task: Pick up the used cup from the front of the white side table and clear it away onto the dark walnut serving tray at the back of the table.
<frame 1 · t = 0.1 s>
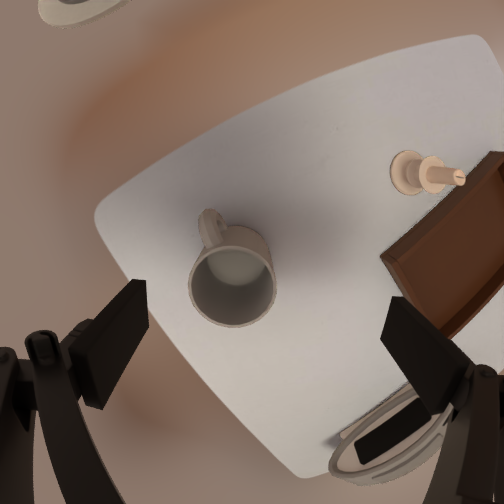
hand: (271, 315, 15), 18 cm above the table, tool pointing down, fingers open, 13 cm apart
alarm clock: (385, 410, 40), on the table
candle: (407, 172, 30), on the table
tray: (466, 247, 32), on the table
cup: (231, 245, 32), on the table
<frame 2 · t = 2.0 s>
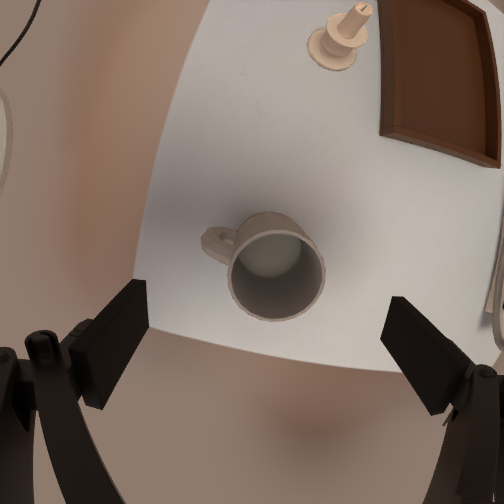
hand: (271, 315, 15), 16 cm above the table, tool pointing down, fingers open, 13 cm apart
candle: (331, 50, 24), on the table
tray: (438, 62, 24), on the table
cup: (255, 241, 30), on the table
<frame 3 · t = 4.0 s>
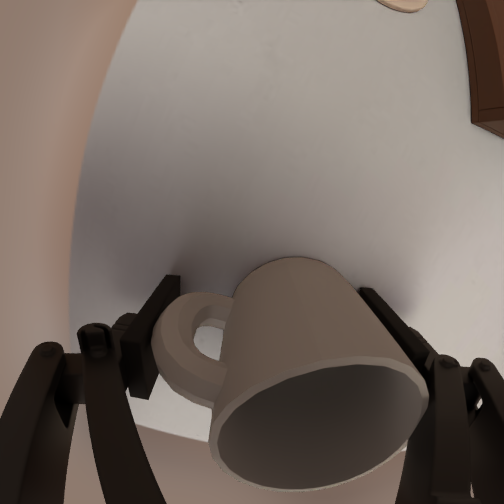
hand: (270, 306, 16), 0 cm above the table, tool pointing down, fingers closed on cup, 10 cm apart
cup: (268, 307, 16), on the table, touching gripper
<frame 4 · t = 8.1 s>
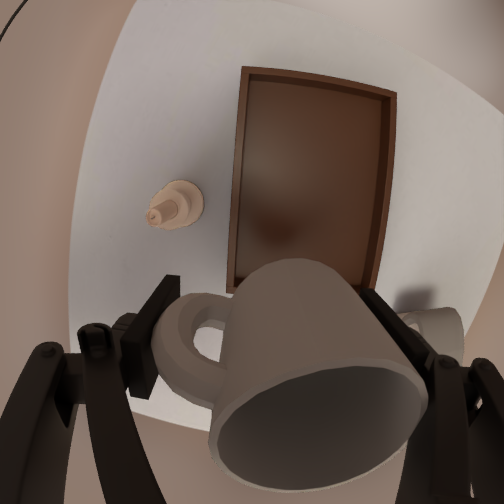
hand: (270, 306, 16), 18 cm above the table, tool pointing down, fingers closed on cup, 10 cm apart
alarm clock: (395, 360, 38), on the table
candle: (181, 203, 32), on the table
tray: (310, 185, 31), on the table
cup: (268, 308, 16), point 17 cm above the table, touching gripper
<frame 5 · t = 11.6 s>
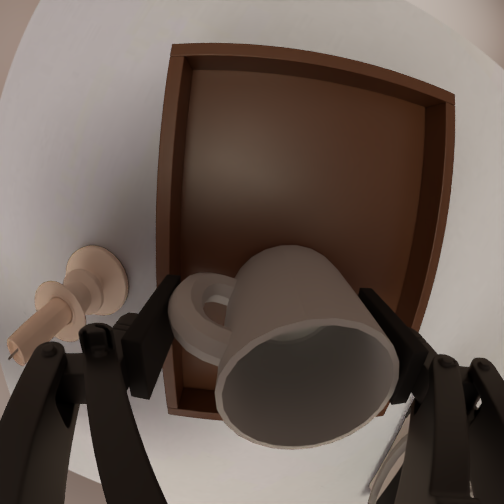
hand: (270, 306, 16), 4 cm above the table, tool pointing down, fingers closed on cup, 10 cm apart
alarm clock: (402, 449, 26), on the table
candle: (98, 279, 19), on the table
tray: (300, 254, 19), on the table
cup: (265, 288, 18), point 1 cm above the table, touching gripper, tray
when the fingers open (4 cm above the table, at t = 12.0 s): cup stays where it is, resting on tray.
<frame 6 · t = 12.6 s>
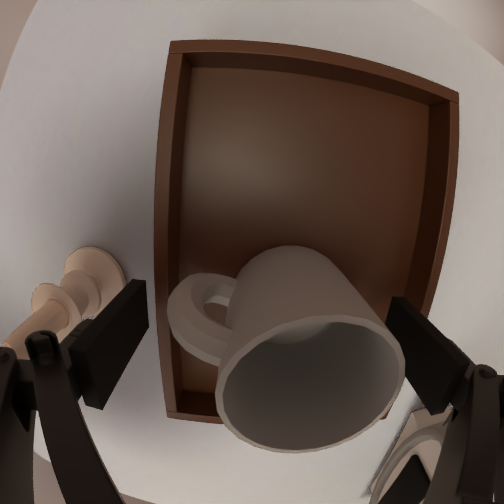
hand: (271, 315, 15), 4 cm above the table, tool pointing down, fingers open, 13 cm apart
alarm clock: (403, 451, 25), on the table
candle: (96, 280, 19), on the table
tray: (302, 256, 18), on the table
cup: (267, 290, 18), point 1 cm above the table, touching tray
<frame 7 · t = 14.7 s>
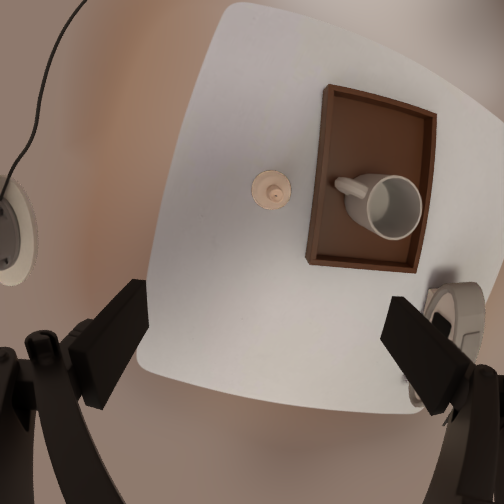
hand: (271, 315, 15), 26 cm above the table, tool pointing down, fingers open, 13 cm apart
alarm clock: (427, 330, 45), on the table
candle: (271, 189, 39), on the table
tray: (372, 181, 38), on the table
cup: (358, 195, 38), point 1 cm above the table, touching tray
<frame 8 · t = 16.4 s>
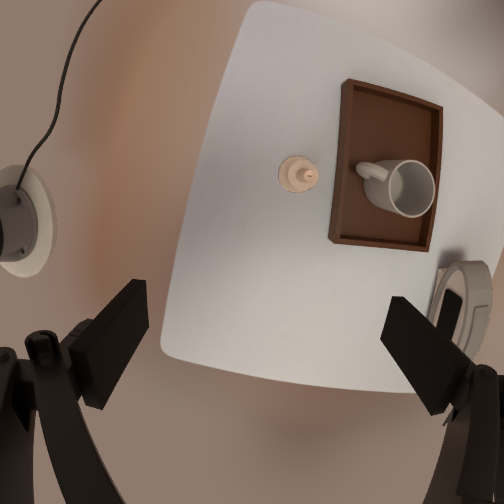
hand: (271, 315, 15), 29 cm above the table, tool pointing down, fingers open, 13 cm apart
alarm clock: (438, 308, 47), on the table
candle: (296, 174, 41), on the table
tray: (386, 168, 40), on the table
cup: (375, 180, 40), point 1 cm above the table, touching tray
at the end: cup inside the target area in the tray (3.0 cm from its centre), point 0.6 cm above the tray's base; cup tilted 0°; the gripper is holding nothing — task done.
